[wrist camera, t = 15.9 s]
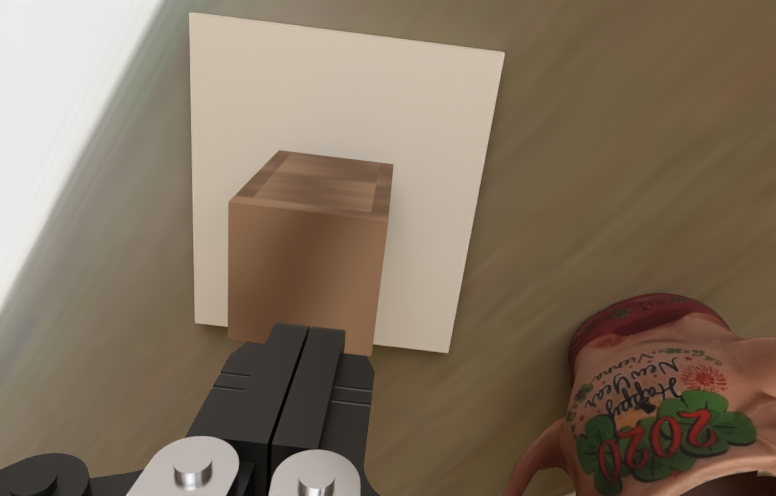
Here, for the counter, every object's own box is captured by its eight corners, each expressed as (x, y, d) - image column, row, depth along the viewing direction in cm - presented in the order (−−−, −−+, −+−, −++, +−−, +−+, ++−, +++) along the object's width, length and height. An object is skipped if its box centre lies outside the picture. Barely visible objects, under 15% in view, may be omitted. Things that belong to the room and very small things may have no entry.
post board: (500, 51, 29) (549, 68, 19) (446, 340, 36) (461, 465, 26) (199, 12, 29) (88, 9, 19) (202, 311, 36) (123, 426, 26)
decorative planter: (525, 485, 41) (579, 699, 28) (440, 366, 37) (458, 551, 24) (799, 365, 36) (1015, 556, 23) (734, 216, 32) (948, 346, 20)
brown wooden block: (393, 164, 29) (388, 221, 21) (380, 268, 31) (371, 356, 23) (279, 150, 29) (228, 201, 21) (274, 255, 31) (227, 339, 23)
